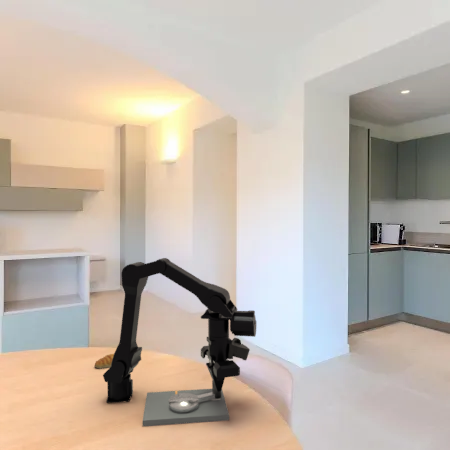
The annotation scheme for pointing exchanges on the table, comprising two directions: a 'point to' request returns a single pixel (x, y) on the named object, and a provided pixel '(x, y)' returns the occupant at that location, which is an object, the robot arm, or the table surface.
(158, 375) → the table surface
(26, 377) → the table surface
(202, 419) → the base plate
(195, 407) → the silver handled piece
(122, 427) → the table surface
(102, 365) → the pastry
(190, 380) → the table surface
